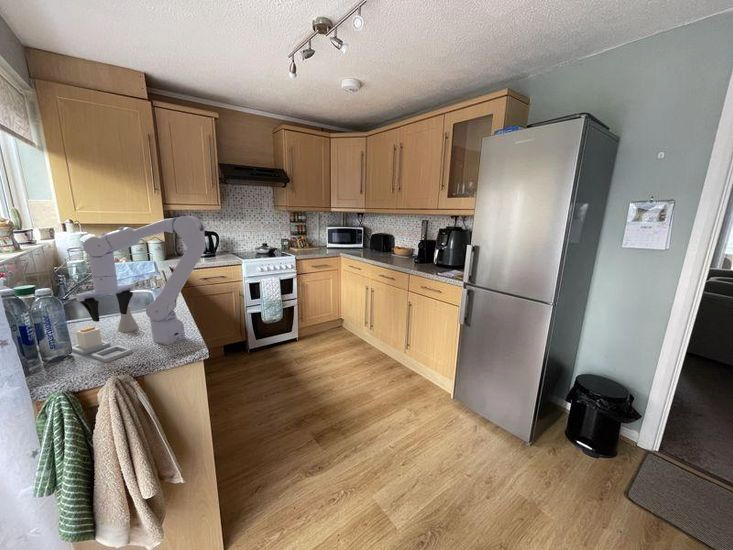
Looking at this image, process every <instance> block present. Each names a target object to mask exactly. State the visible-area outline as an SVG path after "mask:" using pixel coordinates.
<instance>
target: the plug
mask: <svg viewBox="0 0 733 550" xmlns="http://www.w3.org/2000/svg"><path fill="white" fill-rule="evenodd" d="M76 338H77V343H78V344H77V345H79V349H82V350H87V349H90V348H93V347H96V346H99V345H102V340H103V339H102V336H101V329H100V328H97V327H96V326H88V327H84V328H81V329H79V330H76Z"/></svg>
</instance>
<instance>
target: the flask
mask: <svg viewBox="0 0 733 550" xmlns="http://www.w3.org/2000/svg"><path fill="white" fill-rule="evenodd" d="M136 330H139V324H138V323H137V322H136V319H135V318H134V317H133V315H132V312H131V305H129V304H128V308H127V314H125V315H124V314H121V313H120V319H119V323H118V328H117V330H116V331H117V332H118V333H127V332H129V333H130V332H132V331H136Z"/></svg>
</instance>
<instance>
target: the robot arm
mask: <svg viewBox="0 0 733 550" xmlns="http://www.w3.org/2000/svg"><path fill="white" fill-rule="evenodd" d="M205 229H206V228H205V227H204V224H203V222H202V221H201V220H200V218H199V217H197V216H195V215H187V216H185V215H182V216H179V217H173V218H172V217H171V218H165V219H162V220H159V221H156V222H152V223H151V224H147V225H144V226H142V227H139V228H136V229H134V228H133V227H128V226H127V227H125V226H119V227H118V228H117V230H114V231H110V232H106V231H105V232H102V233H101V234H100V235H99V236H90V237H89V238H87V239H86V240H84V241H83V244H82V248H83V250H84V252H85V254H87V255H88V259H89V266H90V267H89V268H90V273H91V278H92V285H93V289H92V290H87V291H84V292H81V293H76V294H75V298H76V301H78V302H79V303H80V304H81V306H83V307H84V308H85V309H86V311H87V312H88V313H89V315H90V317H91V320H92V321H93V322H96V323H98V322H100V314H99V304H100V303H99V300H96V298H101V297H106V296H110V295H115V296H116V299H117V302H118V308H119V309H118V310H119V313H120V315H121V314H124V315H125V314H127V308H128V305H129V304H130V302H131V299H132V297H133V295H134V294H133V291H135V289H134V284H124V285H122V284H121V285H118V277H117V272H116V271H117V270H116V263H115V256H114V253H115V252H118V251H122V250H125V249H128V248H130V247H134V246H137V245H138V244H139V243H140V241H141V239H144V238H149V237H152V236H155V235H159V234H162V233H165V232H166V233H171V234H175V233H176V234H177V235H178V236H179V237H180V238H181V239H182V241H183V242H184V245H185V247H186V249H185V251H184V253H183V254H182V256H181V257H180V259H179V261H178V262H177V264H176V266H175V267H174V269H173V271H172V273H171V275H170V277H169V278H168V280H167V281H166V282H165V285H164V287H163V288H162V290H160V292H159V293H158V295H157V296H156V297H155V299H154V300H153V301H152V302H151V303H149V304H148V305H147V306H146V308H145V313H146V316H147V317H148V318H149V320H150V329H151V330H150V331H151V337H152V342H153V343H156V344H164V345H171V344H173V343H177V342H180V341H181V340H183V339H186V333H185V325H184V322H183V321H182V320H180V319H179V318H178V317H177V314H176V312H175V308H176V307H177V301H178V298H179V296H180V293H181V291H182V289H183V288H184V286H185V284H186V282H187V281H188V279H189V278H190V276H191V274H192V273H193V271H194V269H195V268H196V265H197V264H198V262H200V259H201V258H202V255H203V254H204V252H205V251H206V248H207V245H206V236H205Z"/></svg>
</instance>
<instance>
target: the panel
mask: <svg viewBox="0 0 733 550" xmlns="http://www.w3.org/2000/svg"><path fill="white" fill-rule="evenodd" d="M101 340H102V345H99V346H96V347H93V348H90V349H87V350H82V349H79V344H76V345H73V346H71V347H72V353H71V354H68V355H69V356H73V357H75V358H79V359H81V360H84V361H87V362H90V363H93V364H96V365H99V366H100V365H104V364H105V363H109V362H111V361H114V360H117V359H119V358H122V357H124V356H126V355H130V354H133V353H135V352H138V351H139V350H138V349H135V348H132V347H128V346H124V345H120V344H117V343H115V342H114V343H113V342H111V341H107V340H104V339H101Z"/></svg>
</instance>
